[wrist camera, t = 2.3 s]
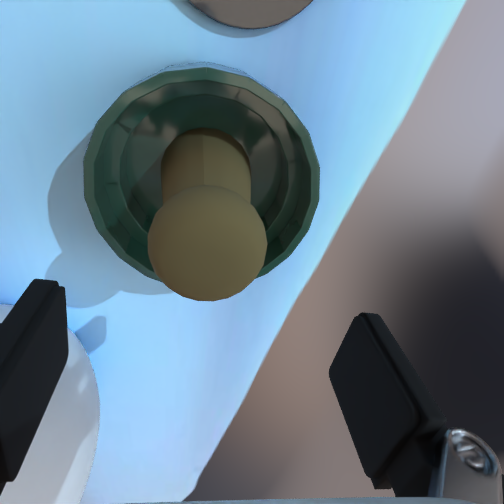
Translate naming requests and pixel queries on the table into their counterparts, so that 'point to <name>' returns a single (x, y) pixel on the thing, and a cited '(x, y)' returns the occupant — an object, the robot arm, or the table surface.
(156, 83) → the bowl
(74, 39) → the table surface
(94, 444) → the pitcher
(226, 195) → the cork
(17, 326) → the robot arm
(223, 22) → the coaster
